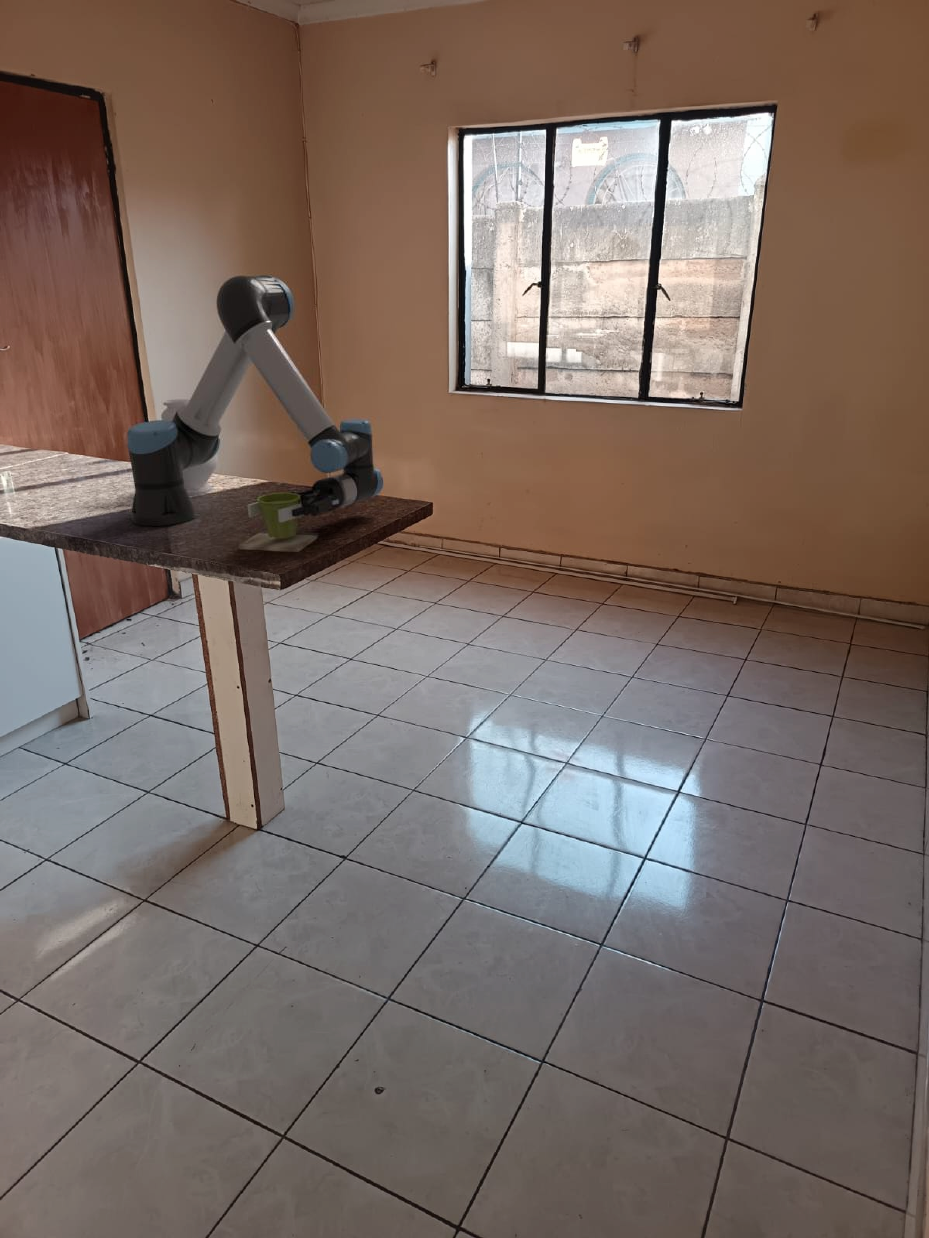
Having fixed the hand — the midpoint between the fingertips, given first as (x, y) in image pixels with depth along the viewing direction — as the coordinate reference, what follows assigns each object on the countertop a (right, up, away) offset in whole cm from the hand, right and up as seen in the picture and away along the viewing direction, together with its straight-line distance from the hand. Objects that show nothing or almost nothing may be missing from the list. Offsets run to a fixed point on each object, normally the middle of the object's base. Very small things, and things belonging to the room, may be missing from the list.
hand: (264, 513), depth 187 cm
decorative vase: (-35, +13, +59) cm, 70 cm away
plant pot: (+3, -4, +6) cm, 8 cm away
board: (+2, -6, +7) cm, 9 cm away
